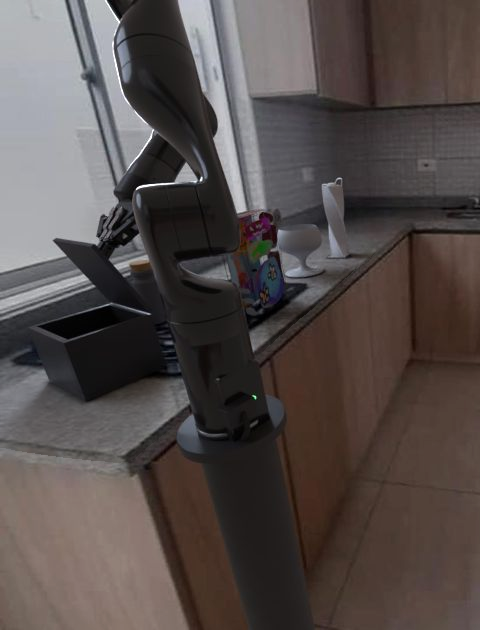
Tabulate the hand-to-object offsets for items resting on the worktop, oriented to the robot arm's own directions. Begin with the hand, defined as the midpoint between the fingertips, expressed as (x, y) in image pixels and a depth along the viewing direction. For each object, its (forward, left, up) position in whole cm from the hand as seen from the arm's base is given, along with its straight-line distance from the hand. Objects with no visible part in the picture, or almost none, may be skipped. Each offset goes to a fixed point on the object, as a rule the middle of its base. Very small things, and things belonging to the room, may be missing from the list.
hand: (96, 262), depth 79 cm
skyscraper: (+21, -85, -21) cm, 90 cm away
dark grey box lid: (0, 0, -3) cm, 3 cm away
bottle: (+20, -16, -21) cm, 33 cm away
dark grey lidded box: (0, +4, -21) cm, 21 cm away
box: (+2, -37, -21) cm, 42 cm away
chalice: (+17, -63, -21) cm, 69 cm away
